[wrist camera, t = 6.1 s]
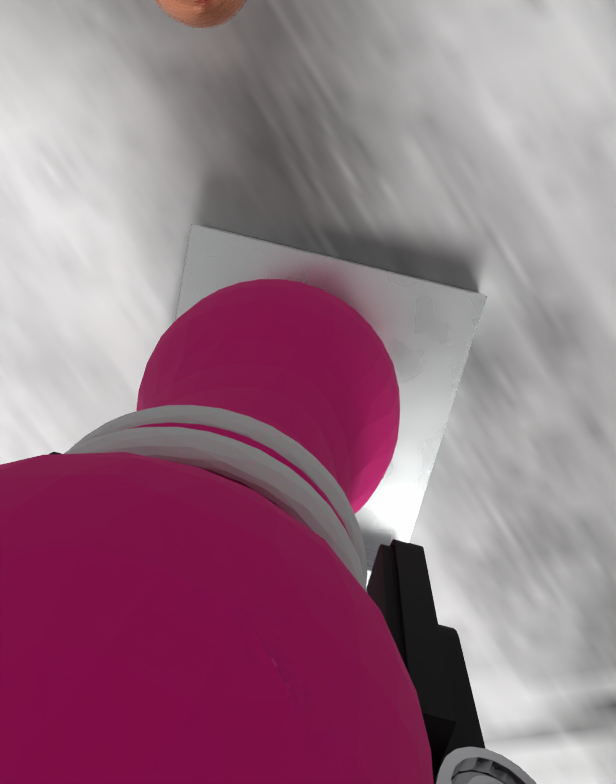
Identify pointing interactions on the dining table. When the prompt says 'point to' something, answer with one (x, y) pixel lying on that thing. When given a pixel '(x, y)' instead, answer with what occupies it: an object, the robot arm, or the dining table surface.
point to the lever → (201, 11)
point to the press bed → (396, 330)
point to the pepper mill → (213, 566)
